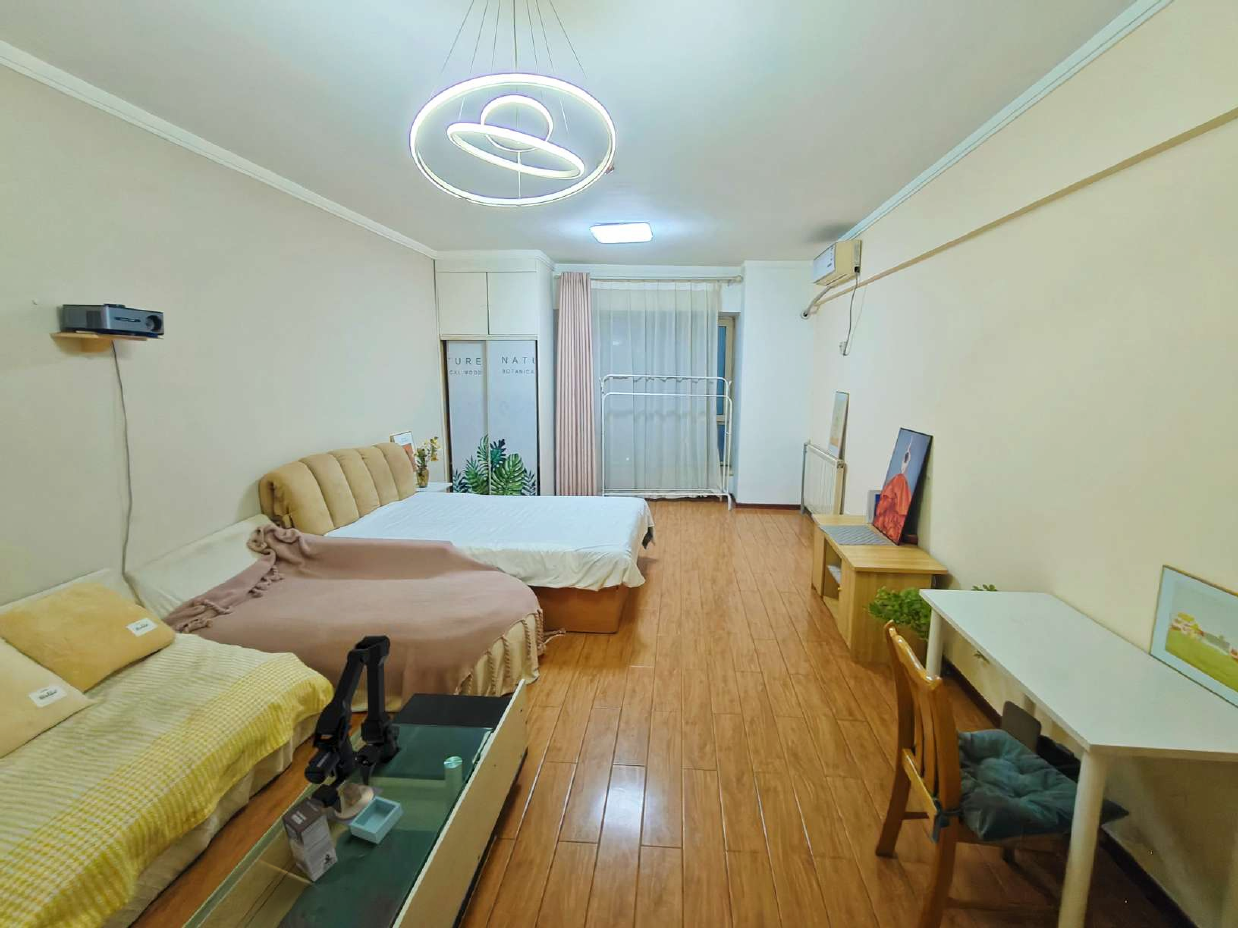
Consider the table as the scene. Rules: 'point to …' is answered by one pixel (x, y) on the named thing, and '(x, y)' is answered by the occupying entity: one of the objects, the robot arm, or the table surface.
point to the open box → (376, 819)
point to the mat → (346, 822)
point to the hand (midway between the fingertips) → (353, 798)
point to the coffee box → (309, 838)
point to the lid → (354, 800)
